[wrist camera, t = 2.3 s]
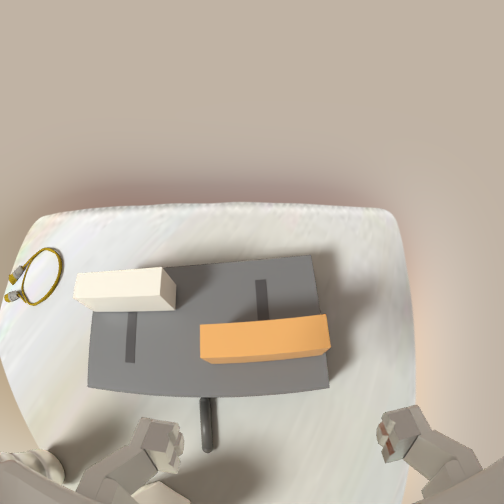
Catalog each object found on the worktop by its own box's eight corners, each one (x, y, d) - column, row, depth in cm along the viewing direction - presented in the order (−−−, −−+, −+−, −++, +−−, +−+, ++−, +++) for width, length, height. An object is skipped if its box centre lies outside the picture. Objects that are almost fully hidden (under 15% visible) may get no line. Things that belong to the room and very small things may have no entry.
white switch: (175, 310, 29) (159, 295, 25) (94, 311, 30) (72, 298, 26) (176, 285, 31) (161, 266, 27) (97, 289, 31) (77, 273, 27)
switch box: (325, 444, 25) (334, 452, 21) (110, 439, 26) (88, 442, 22) (305, 269, 36) (310, 250, 32) (116, 283, 37) (99, 268, 33)
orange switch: (321, 355, 26) (330, 347, 22) (211, 364, 26) (200, 357, 22) (318, 326, 27) (325, 314, 23) (211, 335, 28) (200, 324, 24)
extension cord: (24, 248, 43) (18, 244, 41) (71, 250, 42) (65, 245, 40) (6, 302, 37) (0, 298, 36) (51, 315, 36) (44, 311, 34)
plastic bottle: (45, 480, 21) (-50, 484, 4) (38, 444, 24) (-61, 434, 7) (73, 491, 21) (-27, 507, 4) (66, 453, 24) (-42, 452, 7)
